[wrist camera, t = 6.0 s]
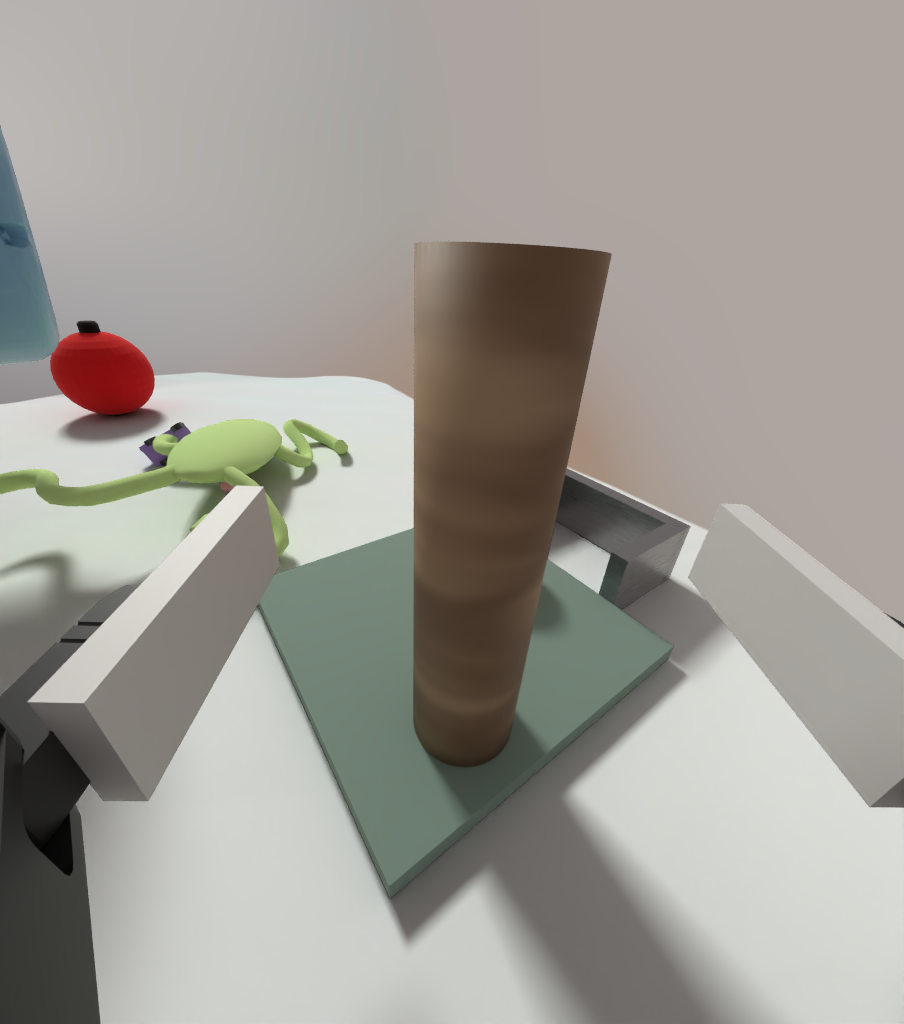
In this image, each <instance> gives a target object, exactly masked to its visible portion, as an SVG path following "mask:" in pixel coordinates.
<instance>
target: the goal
mask: <svg viewBox="0 0 904 1024" xmlns="http://www.w3.org/2000/svg"><path fill="white" fill-rule="evenodd" d="M556 521H557V522H559V523H560V524H562V525H564V526H565V527H567V528H569V529H571V530H572V531H574V532H576V533H577V534H579V535H581V536H582V537H584V538H586V539H587V540H589V541H591V542H592V543H594V544H596V545H598V546H599V547H601V548H603V549H604V550H606V551H608V552H609V553H611V556H610V559H609V563H608V566H607V569H606V572H605V576H604V579H603V582H602V585H601V589H600V592H599V595H600V596H602V597H603V598H605V599H606V600H608V601H609V602H611V603H612V604H613V605H615V606H616V607H618V608H619V609H621V610H622V609H623V608H625V607H626V606H628V605H629V604H631V603H632V602H634V601H635V600H637V599H638V598H640V597H641V596H643V595H644V594H646V593H647V592H649V591H650V590H652V589H653V588H655V587H656V586H658V585H659V584H661V583H662V582H664V581H665V580H667V579H668V578H669V577H670V575H671V572H672V570H673V568H674V565H675V563H676V560H677V558H678V555H679V553H680V551H681V548H682V546H683V543H684V541H685V538H686V536H687V534H688V531H689V529H690V526H689V525H687V524H685V523H683V522H680V521H678V520H676V519H674V518H672V517H670V516H668V515H665V514H663V513H661V512H659V511H657V510H655V509H653V508H650V507H648V506H646V505H644V504H642V503H640V502H638V501H635V500H633V499H631V498H629V497H627V496H625V495H623V494H620V493H618V492H616V491H614V490H612V489H610V488H608V487H606V486H603V485H601V484H599V483H597V482H595V481H593V480H591V479H588V478H586V477H584V476H582V475H580V474H578V473H576V472H573V471H571V470H569V469H567V468H566V473H565V478H564V483H563V487H562V492H561V497H560V502H559V506H558V511H557V516H556Z"/></svg>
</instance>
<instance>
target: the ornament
mask: <svg viewBox="0 0 904 1024" xmlns="http://www.w3.org/2000/svg"><path fill="white" fill-rule="evenodd" d="M77 326H78V329H79V332H78V333H75V334H71V335H69V336H68V337H66V338H64V339H63V340H62V341H61V342H60V343H59V344H58V347H57V348H56V350H55V351H54V352H53V353H52V356H51V360H50V364H51V365H50V366H51V372H52V375H53V379H54V381H55V382H56V384H57V386H58V388H59V389H60V390H61V391H62V392H63V394H64V395H65V396H66V397H68V398H69V399H70V400H71V401H73V402H74V403H76V404H78V405H79V406H81V407H83V408H85V409H87V410H90V411H93V412H96V413H101V414H106V415H119V414H125V413H129V412H133V411H135V410H137V409H138V408H140V407H142V406H143V405H144V404H145V403H146V402H147V401H148V400H149V398H150V397H151V395H152V393H153V390H154V380H155V378H154V374H153V370H152V367H151V365H150V363H149V361H148V360H147V358H146V357H145V355H144V354H143V353H142V352H141V351H140V350H139V349H138V348H136V347H135V346H134V345H133V344H131V343H130V342H128V341H126V340H125V339H123V338H121V337H119V336H116V335H113V334H110V333H106V332H101V331H100V329H99V326H98V324H97V323H96V322H95V321H79V322H78V323H77Z"/></svg>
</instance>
